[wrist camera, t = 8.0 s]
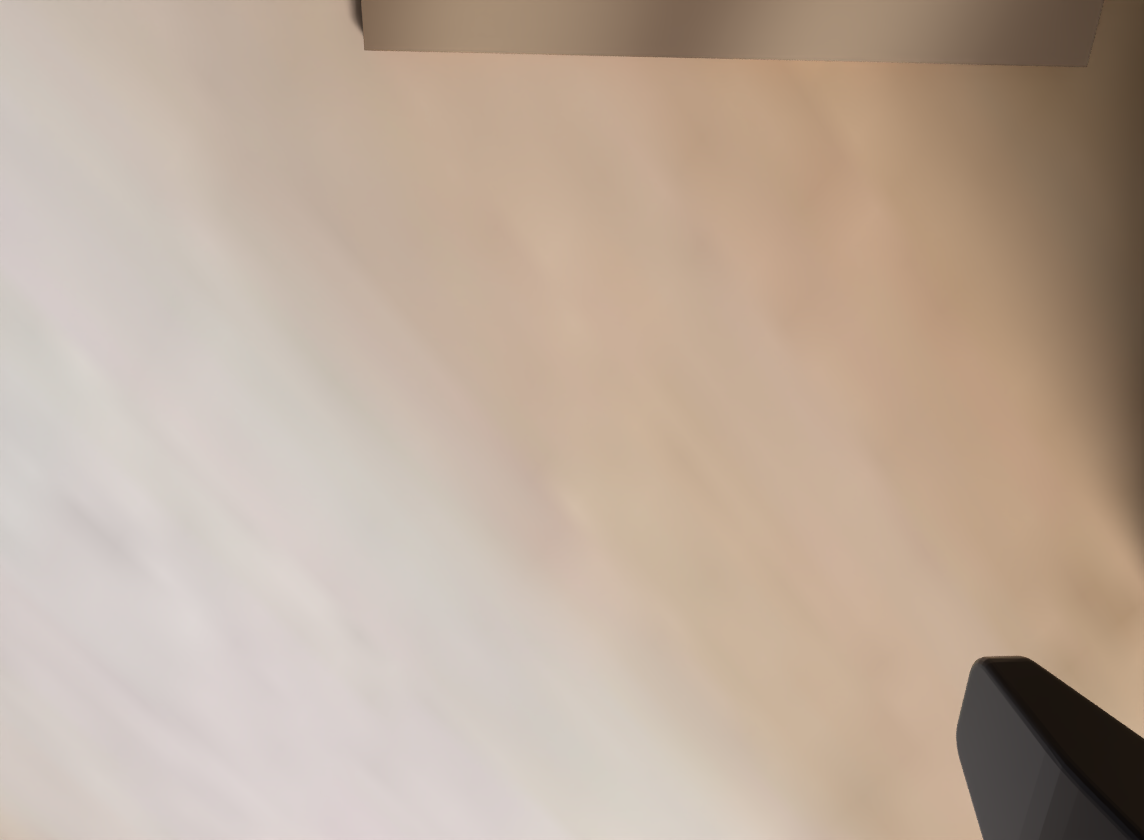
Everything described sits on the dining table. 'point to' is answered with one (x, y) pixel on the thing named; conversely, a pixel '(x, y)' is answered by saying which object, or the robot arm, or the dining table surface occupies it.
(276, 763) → the dining table surface
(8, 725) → the dining table surface
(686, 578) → the dining table surface
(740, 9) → the lid
